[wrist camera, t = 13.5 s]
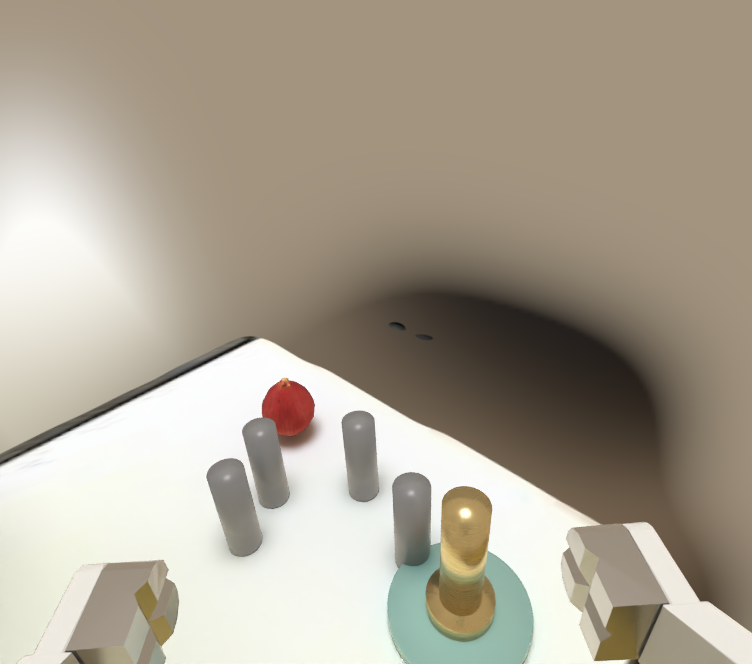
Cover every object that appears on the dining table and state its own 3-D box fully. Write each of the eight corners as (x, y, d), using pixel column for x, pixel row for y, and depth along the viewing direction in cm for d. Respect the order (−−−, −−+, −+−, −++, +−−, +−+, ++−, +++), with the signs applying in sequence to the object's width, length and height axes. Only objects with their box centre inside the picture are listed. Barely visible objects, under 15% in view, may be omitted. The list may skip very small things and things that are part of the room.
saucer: (394, 700, 34) (393, 692, 33) (383, 555, 43) (383, 547, 43) (553, 687, 34) (555, 679, 33) (508, 546, 43) (509, 537, 43)
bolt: (431, 644, 36) (433, 544, 30) (421, 577, 40) (421, 477, 34) (502, 638, 36) (518, 537, 30) (484, 571, 40) (496, 472, 34)
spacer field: (218, 590, 41) (192, 519, 36) (242, 487, 51) (224, 420, 46) (432, 573, 42) (433, 501, 37) (416, 474, 51) (416, 406, 46)
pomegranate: (257, 437, 57) (244, 381, 53) (294, 410, 61) (284, 356, 56) (291, 459, 54) (280, 402, 49) (328, 429, 57) (320, 374, 53)
